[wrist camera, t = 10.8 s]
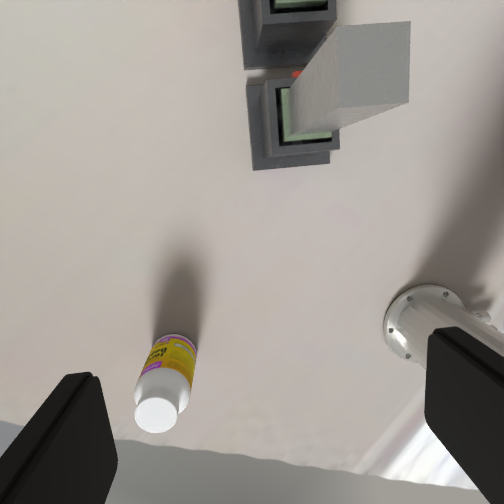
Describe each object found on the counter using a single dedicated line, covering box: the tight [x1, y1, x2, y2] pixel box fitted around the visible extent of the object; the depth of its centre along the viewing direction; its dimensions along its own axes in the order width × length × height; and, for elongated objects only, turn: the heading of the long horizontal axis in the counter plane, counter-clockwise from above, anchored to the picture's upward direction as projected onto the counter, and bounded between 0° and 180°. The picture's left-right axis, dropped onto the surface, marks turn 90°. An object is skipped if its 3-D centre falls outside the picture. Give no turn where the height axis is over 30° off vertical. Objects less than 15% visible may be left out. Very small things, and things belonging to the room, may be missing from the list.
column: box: [280, 21, 411, 142], centre depth 26 cm, size 5×5×18 cm
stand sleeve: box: [246, 71, 340, 171], centre depth 38 cm, size 10×10×9 cm
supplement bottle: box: [134, 334, 197, 433], centre depth 42 cm, size 7×7×13 cm
